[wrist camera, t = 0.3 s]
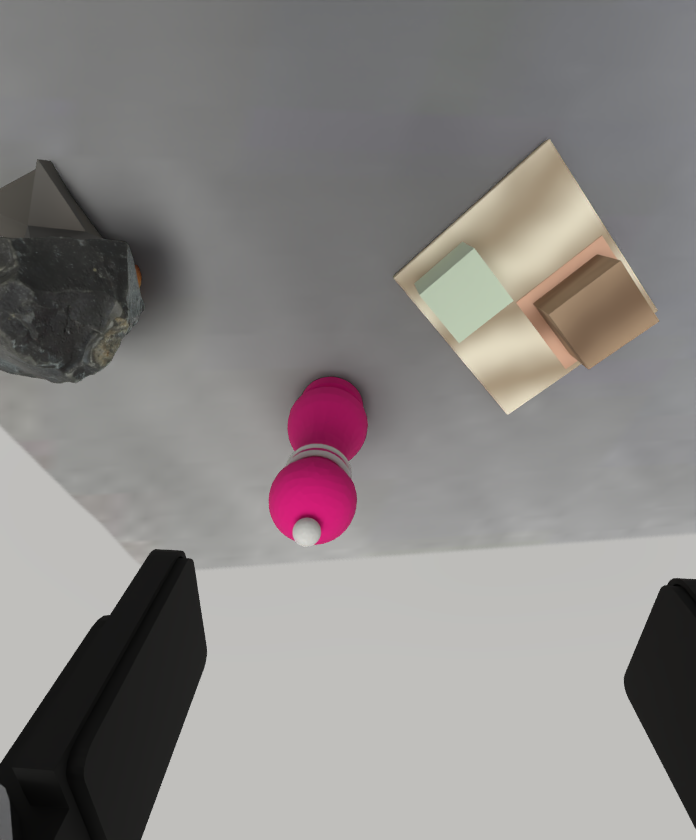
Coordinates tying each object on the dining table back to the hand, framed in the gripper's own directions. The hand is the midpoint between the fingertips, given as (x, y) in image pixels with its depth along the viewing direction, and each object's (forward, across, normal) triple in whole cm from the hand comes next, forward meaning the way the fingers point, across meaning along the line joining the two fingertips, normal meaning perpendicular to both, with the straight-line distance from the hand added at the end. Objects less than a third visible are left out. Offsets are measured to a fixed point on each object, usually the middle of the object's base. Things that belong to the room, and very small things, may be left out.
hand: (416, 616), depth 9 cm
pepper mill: (+35, +5, +10) cm, 37 cm away
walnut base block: (+34, -17, 0) cm, 38 cm away
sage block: (+34, -6, -2) cm, 34 cm away
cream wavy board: (+35, -12, -1) cm, 37 cm away
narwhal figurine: (+35, +26, -3) cm, 43 cm away
